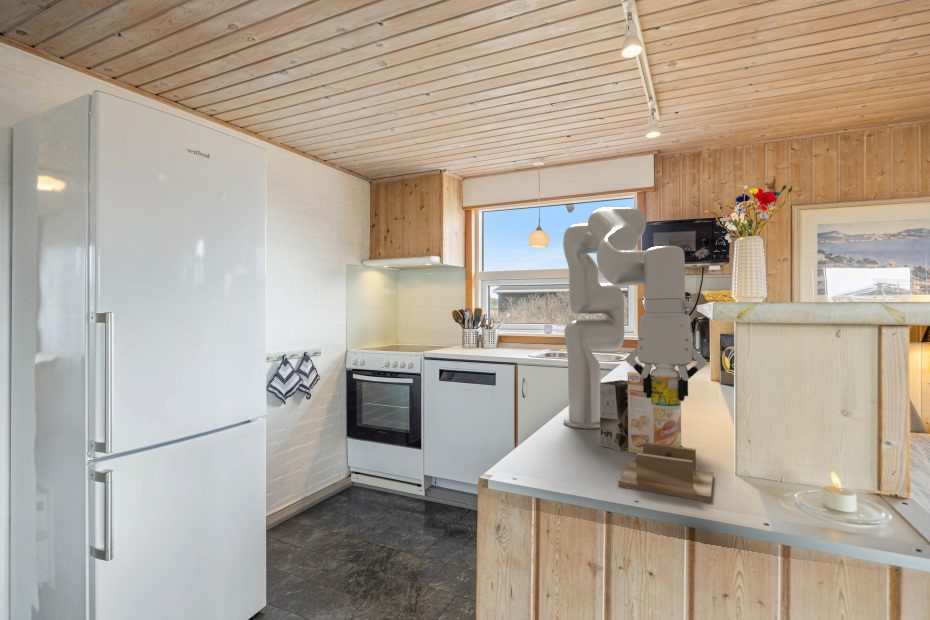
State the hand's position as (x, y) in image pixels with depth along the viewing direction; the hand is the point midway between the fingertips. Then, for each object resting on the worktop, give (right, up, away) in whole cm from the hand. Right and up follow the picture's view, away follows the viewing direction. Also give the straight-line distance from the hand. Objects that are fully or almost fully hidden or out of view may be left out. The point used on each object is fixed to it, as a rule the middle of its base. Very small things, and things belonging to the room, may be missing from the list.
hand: (665, 397), depth 92 cm
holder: (0, -17, 0) cm, 17 cm away
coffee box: (0, -17, +25) cm, 30 cm away
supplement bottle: (0, -2, 0) cm, 2 cm away
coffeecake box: (+7, -17, +21) cm, 28 cm away
